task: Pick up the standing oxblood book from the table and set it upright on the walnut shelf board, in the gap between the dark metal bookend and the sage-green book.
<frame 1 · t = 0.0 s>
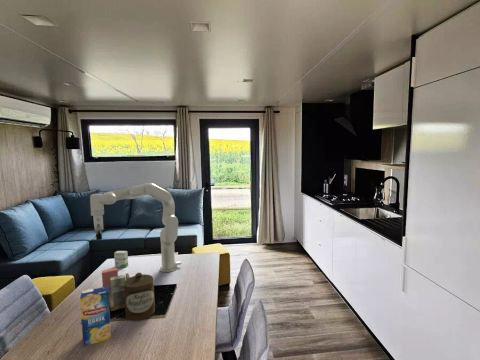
hand: (98, 238, 172), 31 cm above the table, fingers open, 9 cm apart
book: (110, 286, 169), on the table
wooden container: (140, 313, 139), on the table
ink box: (121, 266, 203), on the table
beverage box: (97, 338, 119), on the table
shelf: (120, 298, 154), on the table
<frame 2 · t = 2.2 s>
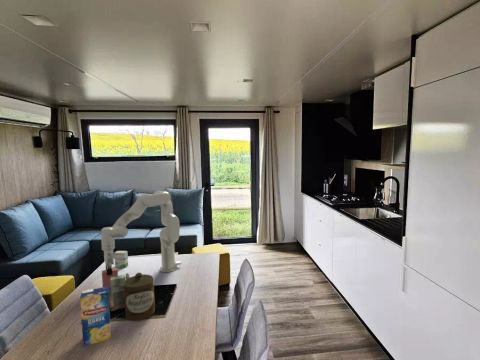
hand: (109, 272, 168), 10 cm above the table, fingers open, 9 cm apart
nothing on the table moved.
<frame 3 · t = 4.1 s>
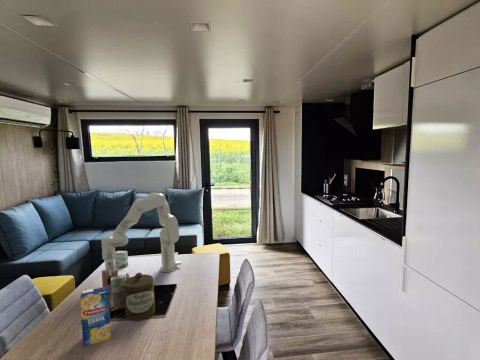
hand: (110, 282, 169), 3 cm above the table, fingers closed on book, 4 cm apart
book: (110, 286, 169), on the table, touching gripper
everything else where it was.
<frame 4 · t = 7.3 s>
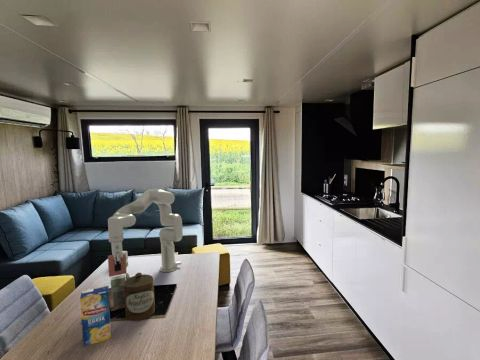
hand: (117, 269, 149), 19 cm above the table, fingers closed on book, 4 cm apart
book: (117, 273, 150), point 17 cm above the table, touching gripper
everything else where it was.
when the fingers open (7 cm above the table, at t = 10.5 s): book drops 2 cm, resting on shelf.
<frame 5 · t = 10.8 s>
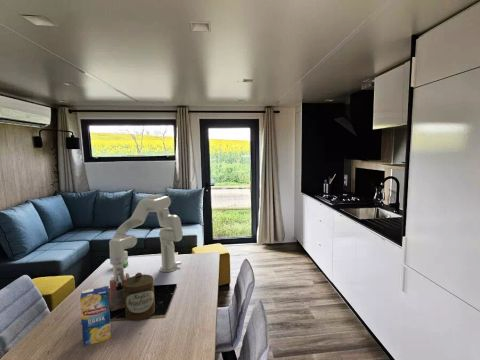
hand: (118, 289, 150), 7 cm above the table, fingers open, 7 cm apart
book: (119, 298, 150), point 2 cm above the table, touching shelf
everything else where it was.
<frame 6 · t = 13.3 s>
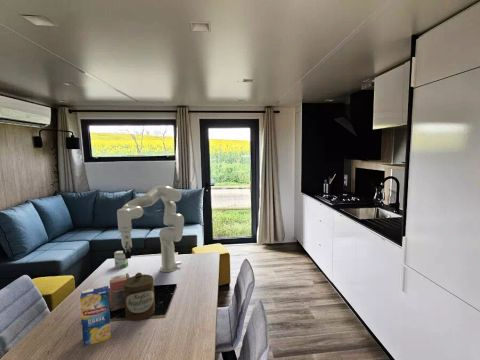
hand: (127, 255, 159), 23 cm above the table, fingers open, 9 cm apart
nothing on the table moved.
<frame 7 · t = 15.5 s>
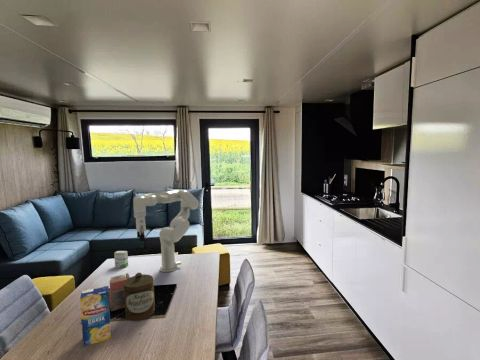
hand: (141, 239, 178), 28 cm above the table, fingers open, 9 cm apart
nothing on the table moved.
at the end: book inside the target area (0.2 cm from its centre), point 2.0 cm above the table; book tilted 0°; the gripper is holding nothing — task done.
